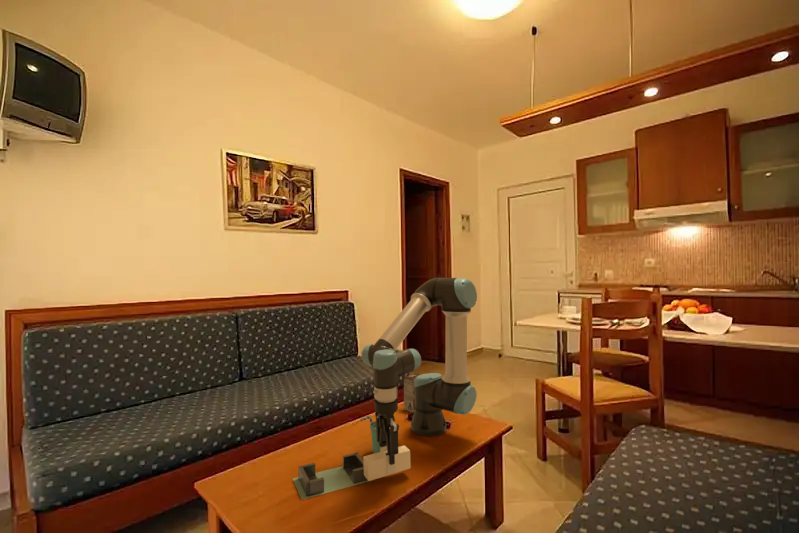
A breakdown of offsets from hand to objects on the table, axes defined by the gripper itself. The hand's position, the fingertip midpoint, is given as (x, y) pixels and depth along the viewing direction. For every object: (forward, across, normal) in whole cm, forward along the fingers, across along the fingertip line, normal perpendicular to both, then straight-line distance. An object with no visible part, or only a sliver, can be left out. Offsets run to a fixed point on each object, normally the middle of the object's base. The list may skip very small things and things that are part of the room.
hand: (387, 469), depth 129 cm
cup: (+4, -18, +4) cm, 19 cm away
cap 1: (+3, -8, -23) cm, 25 cm away
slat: (+1, 0, 0) cm, 1 cm away
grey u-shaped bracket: (+3, -8, -8) cm, 12 cm away
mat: (+3, -8, -16) cm, 18 cm away
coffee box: (+6, -51, +38) cm, 64 cm away
